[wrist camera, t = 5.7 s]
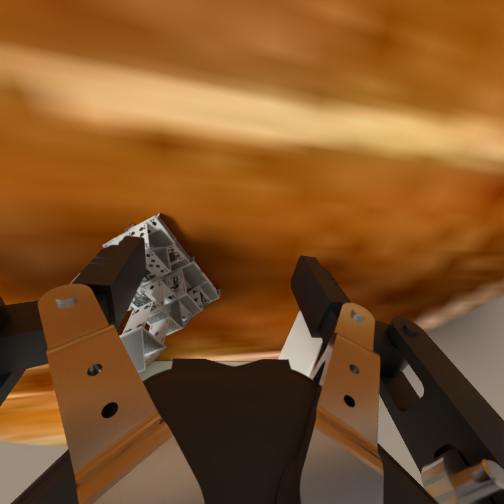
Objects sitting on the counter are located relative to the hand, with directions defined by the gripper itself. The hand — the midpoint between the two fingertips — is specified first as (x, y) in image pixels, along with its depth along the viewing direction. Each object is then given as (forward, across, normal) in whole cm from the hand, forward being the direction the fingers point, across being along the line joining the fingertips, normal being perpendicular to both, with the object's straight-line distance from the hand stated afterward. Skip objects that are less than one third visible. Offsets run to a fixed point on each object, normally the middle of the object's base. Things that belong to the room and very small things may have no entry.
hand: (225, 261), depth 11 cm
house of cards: (+4, +6, +4) cm, 8 cm away
